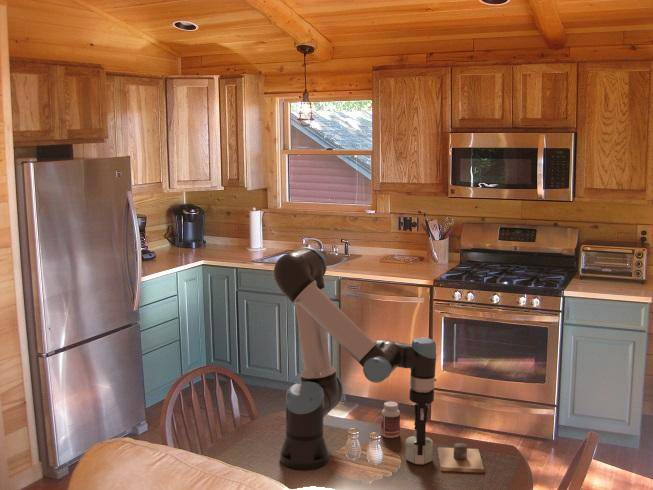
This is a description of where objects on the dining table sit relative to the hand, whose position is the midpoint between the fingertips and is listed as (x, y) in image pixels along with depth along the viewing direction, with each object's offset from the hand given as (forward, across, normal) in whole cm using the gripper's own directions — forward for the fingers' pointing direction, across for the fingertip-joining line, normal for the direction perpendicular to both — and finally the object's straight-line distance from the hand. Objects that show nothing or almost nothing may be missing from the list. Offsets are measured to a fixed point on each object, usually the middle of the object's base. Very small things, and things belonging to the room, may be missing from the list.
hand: (418, 456), depth 241 cm
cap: (0, 0, 0) cm, 0 cm away
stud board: (+1, 0, -13) cm, 13 cm away
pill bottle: (+1, +18, +9) cm, 20 cm away
